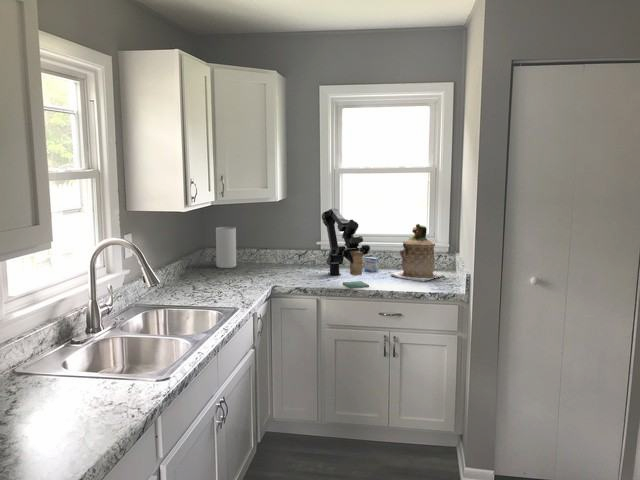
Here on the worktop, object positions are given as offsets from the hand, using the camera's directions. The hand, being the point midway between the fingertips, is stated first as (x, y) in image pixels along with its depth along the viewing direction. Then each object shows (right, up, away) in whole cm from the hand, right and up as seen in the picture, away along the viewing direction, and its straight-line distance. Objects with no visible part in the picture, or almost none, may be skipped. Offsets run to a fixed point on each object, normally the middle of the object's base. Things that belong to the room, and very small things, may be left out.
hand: (357, 262), depth 298 cm
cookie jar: (+38, -10, +28) cm, 48 cm away
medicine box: (+12, -7, +43) cm, 45 cm away
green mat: (-1, -13, +3) cm, 13 cm away
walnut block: (-1, -6, +2) cm, 7 cm away
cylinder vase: (-80, -5, +54) cm, 97 cm away
